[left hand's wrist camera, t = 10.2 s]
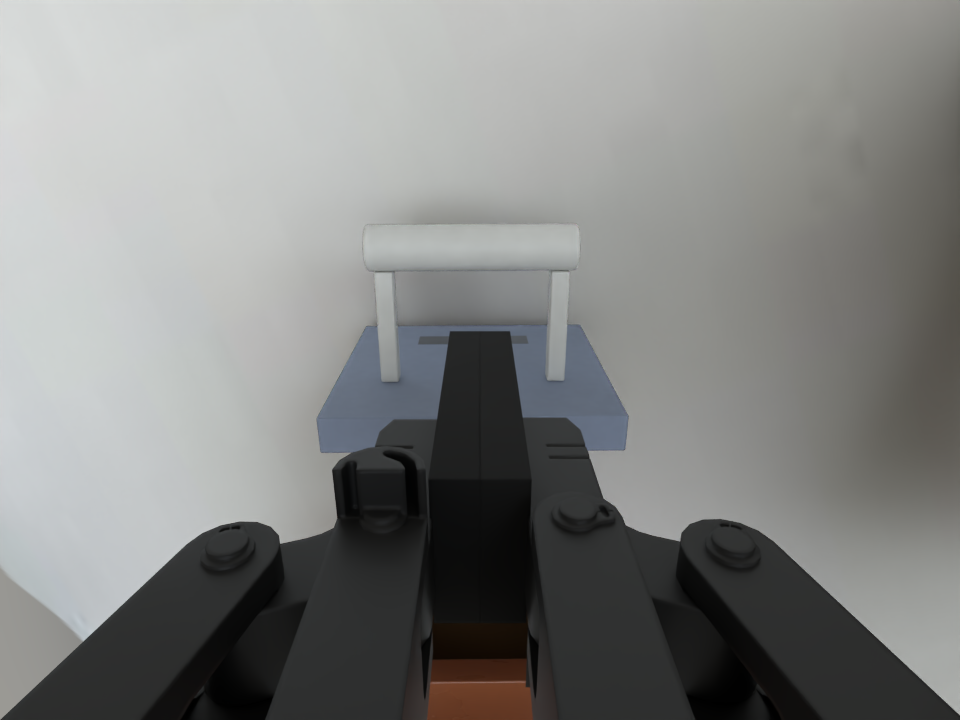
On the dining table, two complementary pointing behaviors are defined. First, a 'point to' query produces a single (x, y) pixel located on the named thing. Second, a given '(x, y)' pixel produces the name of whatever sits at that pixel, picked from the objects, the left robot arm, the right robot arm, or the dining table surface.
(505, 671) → the cabinet
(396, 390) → the drawer
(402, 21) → the dining table surface
